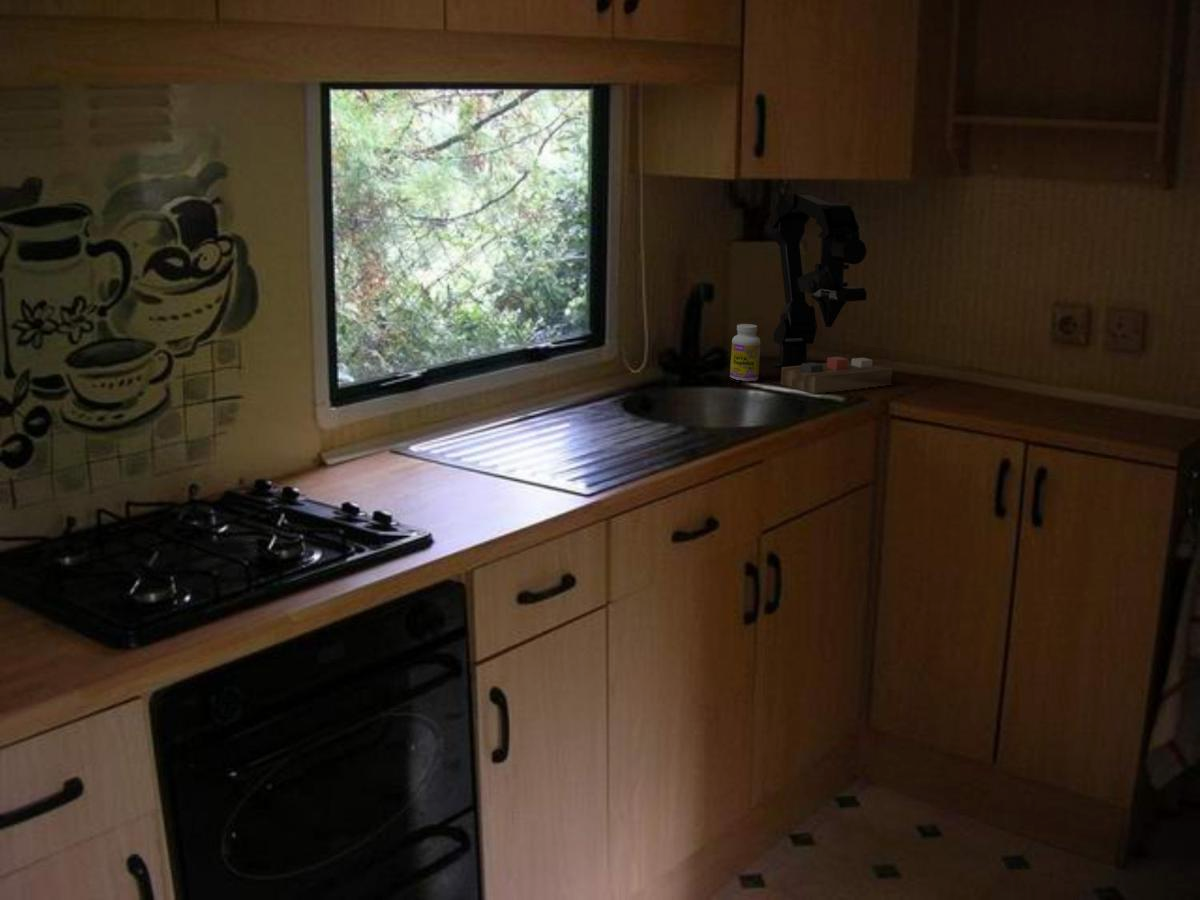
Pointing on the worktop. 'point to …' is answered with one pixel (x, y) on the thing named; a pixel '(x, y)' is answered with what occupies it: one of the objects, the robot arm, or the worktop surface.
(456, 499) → the worktop surface
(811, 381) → the block
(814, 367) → the gray rectangular block
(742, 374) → the supplement bottle
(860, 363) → the plug white
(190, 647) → the worktop surface
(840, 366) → the plug red
